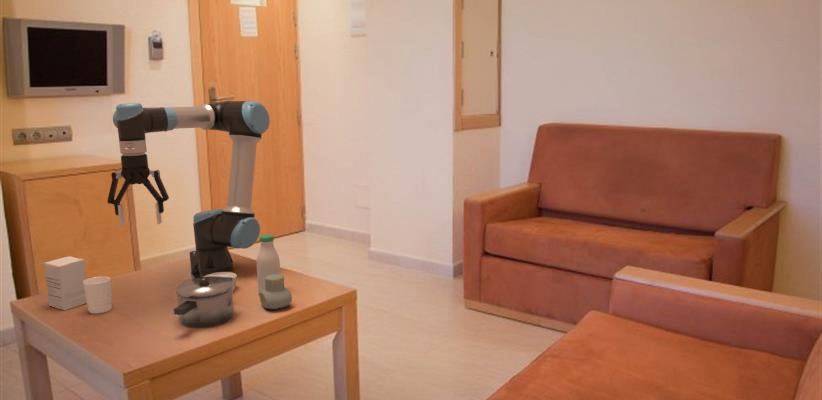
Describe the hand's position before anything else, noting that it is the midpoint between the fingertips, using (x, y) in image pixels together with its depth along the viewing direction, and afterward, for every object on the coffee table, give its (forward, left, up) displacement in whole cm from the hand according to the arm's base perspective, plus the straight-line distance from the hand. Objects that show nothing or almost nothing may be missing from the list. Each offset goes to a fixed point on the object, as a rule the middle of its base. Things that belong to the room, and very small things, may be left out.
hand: (141, 224), depth 205 cm
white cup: (+10, -12, -28) cm, 32 cm away
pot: (-5, +23, -28) cm, 36 cm away
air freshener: (-24, +33, -28) cm, 50 cm away
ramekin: (-24, +5, -28) cm, 37 cm away
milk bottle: (-32, +21, -28) cm, 47 cm away
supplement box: (+13, -26, -28) cm, 40 cm away
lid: (-7, +20, -18) cm, 28 cm away
